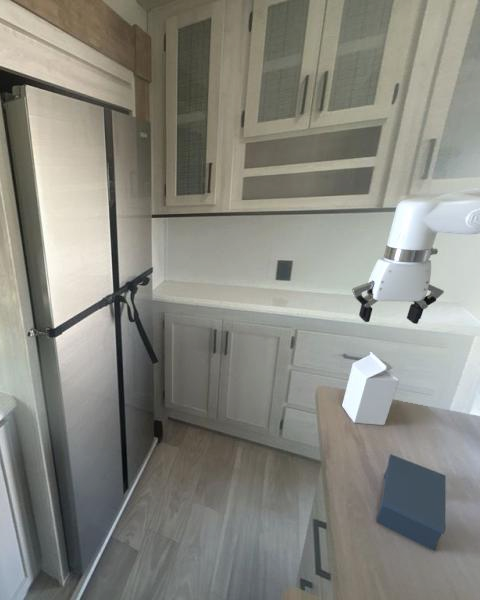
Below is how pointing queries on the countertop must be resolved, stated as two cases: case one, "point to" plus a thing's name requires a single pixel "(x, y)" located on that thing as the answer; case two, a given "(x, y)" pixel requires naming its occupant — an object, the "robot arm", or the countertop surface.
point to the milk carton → (370, 391)
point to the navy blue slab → (413, 501)
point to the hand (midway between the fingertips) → (387, 320)
